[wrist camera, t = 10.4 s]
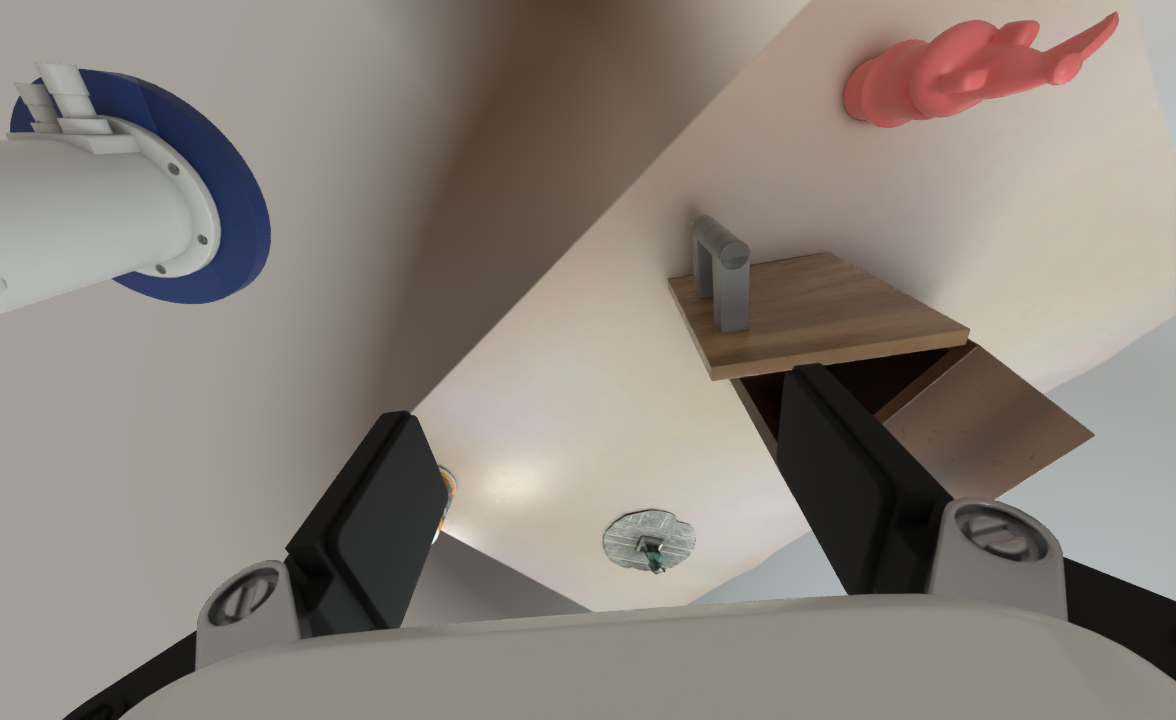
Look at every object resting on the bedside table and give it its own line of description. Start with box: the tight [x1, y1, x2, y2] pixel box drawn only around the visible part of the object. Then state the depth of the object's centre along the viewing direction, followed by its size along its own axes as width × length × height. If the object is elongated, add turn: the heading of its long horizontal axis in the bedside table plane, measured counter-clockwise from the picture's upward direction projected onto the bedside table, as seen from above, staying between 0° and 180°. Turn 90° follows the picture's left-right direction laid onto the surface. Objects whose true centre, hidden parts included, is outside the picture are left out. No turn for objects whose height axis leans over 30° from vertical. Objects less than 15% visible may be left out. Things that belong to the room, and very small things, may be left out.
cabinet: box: [730, 339, 1095, 500], centre depth 35 cm, size 12×14×16 cm
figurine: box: [844, 12, 1119, 128], centre depth 24 cm, size 5×5×15 cm
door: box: [668, 215, 970, 381], centre depth 29 cm, size 7×14×16 cm, turn 100°
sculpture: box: [603, 510, 696, 574], centre depth 56 cm, size 12×9×8 cm
